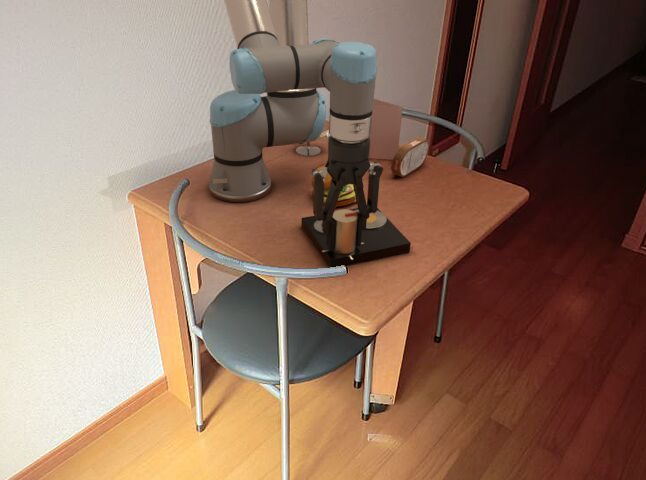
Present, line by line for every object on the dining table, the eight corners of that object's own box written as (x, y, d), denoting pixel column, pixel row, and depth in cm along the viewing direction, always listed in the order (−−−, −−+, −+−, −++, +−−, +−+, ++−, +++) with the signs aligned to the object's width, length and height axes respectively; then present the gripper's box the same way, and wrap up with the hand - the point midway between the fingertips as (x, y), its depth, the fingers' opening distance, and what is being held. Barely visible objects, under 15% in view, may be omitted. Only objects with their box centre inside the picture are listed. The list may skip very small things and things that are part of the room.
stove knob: (335, 256, 110) (337, 222, 105) (327, 242, 114) (329, 209, 109) (359, 252, 111) (361, 219, 107) (350, 239, 115) (352, 206, 111)
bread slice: (418, 160, 154) (422, 131, 149) (428, 163, 152) (432, 134, 147) (388, 178, 144) (391, 148, 139) (398, 182, 142) (402, 151, 137)
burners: (307, 219, 121) (307, 218, 121) (376, 207, 126) (376, 205, 126) (321, 239, 115) (321, 237, 115) (393, 225, 120) (393, 223, 120)
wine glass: (327, 149, 158) (329, 97, 150) (312, 158, 153) (313, 105, 144) (304, 142, 162) (304, 91, 153) (288, 151, 156) (288, 99, 148)
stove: (298, 227, 123) (298, 217, 122) (373, 214, 129) (374, 204, 127) (330, 274, 109) (330, 263, 108) (413, 256, 115) (414, 246, 113)
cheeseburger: (356, 211, 129) (348, 173, 124) (313, 216, 132) (303, 178, 127) (362, 191, 137) (355, 154, 132) (321, 195, 140) (312, 159, 135)
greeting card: (398, 159, 154) (404, 106, 145) (383, 167, 149) (388, 113, 141) (366, 147, 160) (369, 96, 151) (350, 155, 155) (353, 102, 147)
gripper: (307, 149, 93) (305, 262, 107) (404, 139, 98) (391, 248, 112) (295, 133, 99) (295, 241, 113) (387, 123, 104) (377, 229, 117)
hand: (343, 244), depth 112 cm, fingers closed on stove knob, 5 cm apart
